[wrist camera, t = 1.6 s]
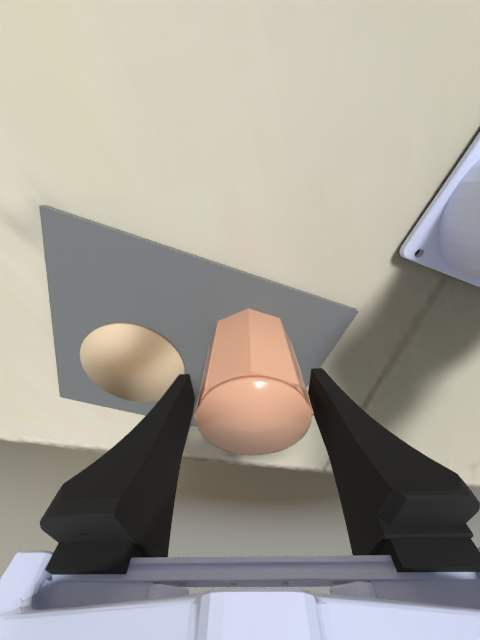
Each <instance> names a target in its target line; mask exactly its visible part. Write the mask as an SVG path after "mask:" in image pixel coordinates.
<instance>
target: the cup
mask: <svg viewBox="0 0 480 640" xmlns="http://www.w3.org/2000/svg"><path fill="white" fill-rule="evenodd" d="M313 415H314V412H313V409H312V406H311V403H310V400H309V397H308V393H307V390H306V387H305V384H304V381H303V378H302V375H301V371H300V368H299V365H298V362H297V359H296V356H295V352H294V349H293V346H292V343H291V342H290V339H289V337H288V335H287V333H286V331H285V329H284V327H283V324H282V322H281V320H280V318H278V317H275V316H271V315H268V314H265V313H262V312H258V311H255V310H252V309H249V308H247V309H245V310H243V311H241V312H238V313H236V314H234V315H231V316H229V317H227V318H225V319H222V320H220V321H218V323H217V326H216V329H215V332H214V335H213V338H212V341H211V344H210V346H209V351H208V355H207V360H206V364H205V369H204V373H203V378H202V383H201V387H200V392H199V396H198V401H197V405H196V410H195V414H194V419H196V420H197V426H198V428H199V431H200V432H201V434H202V435H203V436H204V438H205V439H207V440H208V441H209V442H210V443H212V444H213V445H215V446H217V447H218V448H221V449H223V450H226V451H229V452H232V453H237V454H244V455H263V454H270V453H274V452H278V451H281V450H284V449H286V448H288V447H290V446H292V445H294V444H295V443H297V442H298V441H299V440H300V439H302V437H303V436H304V435H305V434H306V433H307V431H308V429H309V427H310V424H311V417H312V416H313Z"/></svg>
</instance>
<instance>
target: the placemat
mask: <svg viewBox="0 0 480 640" xmlns="http://www.w3.org/2000/svg"><path fill="white" fill-rule="evenodd" d="M40 216H41V225H42V234H43V243H44V253H45V262H46V271H47V280H48V289H49V299H50V308H51V317H52V326H53V336H54V345H55V354H56V363H57V373H58V382H59V391H60V397H62V398H67V399H72V400H76V401H81V402H86V403H90V404H95V405H99V406H104V407H109V408H113V409H118V410H123V411H127V412H132V413H136V414H141V415H147V414H148V413H149V412H150V411H151V409H152V408H153V407H154V406H155V405H156V404H157V402H158V401H156V402H134V401H128V400H125V399H121V398H119V397H116V396H114V395H112V394H110V393H108V392H106V391H105V390H103V389H102V388H100V387H99V386H98V385H96V384H95V383H94V382H93V381H92V380H91V379H90V378H89V376H88V375H87V374H86V372H85V370H84V368H83V366H82V364H81V360H80V348H81V345H82V343H83V341H84V339H85V338H86V337H87V336H88V335H89V334H90V333H91V332H92V331H93V330H95V329H97V328H98V327H101V326H103V325H107V324H111V323H131V324H136V325H141V326H144V327H147V328H149V329H151V330H154V331H155V332H157V333H159V334H161V335H162V336H164V337H165V338H166V339H168V340H169V341H170V342H171V343H172V344H173V345H174V346H175V347H176V349H177V350H178V351H179V353H180V355H181V357H182V359H183V362H184V366H185V374H190V379H191V383H192V387H193V391H194V395H195V403H194V410H193V416H192V420H191V423H190V425H192V426H197V420H196V419H194V414H195V410H196V405H197V401H198V396H199V392H200V387H201V383H202V378H203V373H204V369H205V364H206V360H207V355H208V351H209V346H210V344H211V341H212V338H213V335H214V332H215V329H216V326H217V323H218V321H220V320H222V319H225V318H227V317H229V316H231V315H234V314H236V313H238V312H241V311H243V310H245V309H247V308H249V309H252V310H255V311H258V312H262V313H265V314H268V315H271V316H275V317H278V318H280V320H281V322H282V324H283V327H284V329H285V331H286V333H287V335H288V337H289V339H290V342H291V343H292V346H293V349H294V352H295V356H296V359H297V362H298V365H299V368H300V371H301V375H302V378H303V381H304V384H305V387H307V386H308V384H309V383H310V375H311V369H314V368H320V367H321V365H322V364H323V362H324V361H325V359H326V358H327V356H328V355H329V354H330V352H331V351H332V349H333V348H334V346H335V345H336V343H337V342H338V341H339V339H340V338H341V336H342V335H343V333H344V332H345V330H346V329H347V327H348V326H349V325H350V323H351V322H352V320H353V319H354V317H355V316H356V314H357V313H358V311H357V310H356V309H354V308H351V307H348V306H345V305H342V304H339V303H336V302H333V301H330V300H327V299H324V298H321V297H318V296H315V295H312V294H309V293H306V292H303V291H300V290H297V289H294V288H291V287H288V286H285V285H282V284H279V283H276V282H273V281H270V280H267V279H264V278H261V277H258V276H255V275H252V274H249V273H246V272H243V271H241V270H238V269H235V268H232V267H229V266H226V265H223V264H220V263H217V262H214V261H211V260H208V259H205V258H202V257H199V256H196V255H193V254H190V253H187V252H184V251H181V250H178V249H175V248H172V247H169V246H166V245H163V244H160V243H157V242H154V241H151V240H148V239H145V238H142V237H139V236H136V235H133V234H130V233H127V232H124V231H121V230H118V229H115V228H112V227H109V226H106V225H103V224H100V223H97V222H94V221H91V220H88V219H85V218H82V217H79V216H76V215H73V214H70V213H67V212H64V211H61V210H58V209H55V208H52V207H49V206H46V205H42V206H40ZM197 427H198V426H197Z"/></svg>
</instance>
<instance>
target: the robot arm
mask: <svg viewBox="0 0 480 640" xmlns="http://www.w3.org/2000/svg"><path fill="white" fill-rule="evenodd" d="M419 249H420V251H419V253H418V254H417V255H416V256H415V252H416V251H417V250H419ZM399 253H400V256H402V257H403V258H406V259H408V260H411V261H413V262H416V263H419V264H421V265H424V266H426V267H429V268H431V269H434V270H437V271H439V272H442V273H444V274H447V275H449V276H452V277H455V278H457V279H460V280H462V281H465V282H468V283H470V284H473V285H475V286H478V287H480V132H479V134H478V135H477V137H476V138H475V140H474V141H473V142H472V144H471V145H470V147H469V148H468V150H467V151H466V153H465V154H464V156H463V157H462V159H461V160H460V161H459V163H458V164H457V166H456V167H455V169H454V170H453V172H452V173H451V175H450V176H449V178H448V179H447V180H446V182H445V183H444V185H443V186H442V188H441V189H440V191H439V192H438V194H437V195H436V197H435V198H434V199H433V201H432V202H431V204H430V205H429V207H428V208H427V210H426V211H425V213H424V214H423V216H422V217H421V218H420V220H419V221H418V223H417V224H416V226H415V227H414V229H413V230H412V232H411V233H410V234H409V236H408V237H407V239H406V240H405V242H404V243H403V245H402V246H401V248H400V252H399ZM308 394H309V399H310V403H311V406H312V409H313V412H314V416H315V419H316V422H317V425H318V427H319V430H320V433H321V435H322V438H323V441H324V443H325V446H326V449H327V452H328V455H329V458H330V462H331V465H332V469H333V473H334V476H335V481H336V484H337V488H338V492H339V496H340V500H341V504H342V509H343V513H344V517H345V521H346V526H347V530H348V535H349V540H350V544H351V549H352V554H353V556H260V557H259V556H257V557H168V548H169V539H170V530H171V523H172V515H173V508H174V501H175V493H176V487H177V480H178V475H179V469H180V463H181V458H182V454H183V450H184V446H185V442H186V439H187V435H188V431H189V427H190V423H191V420H192V416H193V410H194V403H195V395H194V391H193V387H192V383H191V379H190V374H179V375H178V376H177V378H176V379H175V380H174V382H173V383H172V385H171V386H170V387H169V388H168V390H167V391H166V392H165V394H164V395H163V396H162V397H161V399H160V400H159V401H158V402H157V404H156V405H155V406H154V407H153V408H152V409H151V411H150V412H149V413H148V414H147V415H146V416H145V417H144V418H143V419H142V421H141V422H140V423H139V424H138V425H137V426H136V427H135V428H134V429H133V430H132V431H131V432H130V433H128V434H127V435H126V436H125V437H124V438H123V439H122V440H121V441H120V442H118V443H117V444H116V445H115V446H114V447H113V448H112V449H110V450H109V451H108V452H107V453H105V454H104V455H103V456H102V457H100V458H99V459H98V460H96V461H95V462H94V463H93V464H91V465H90V466H88V467H87V468H86V469H84V470H83V471H82V472H80V473H79V474H77V475H76V476H74V477H73V478H71V479H70V480H69V481H67V482H65V483H64V484H63V485H62V487H61V488H60V490H59V491H58V493H57V494H56V496H55V498H54V499H53V501H52V503H51V504H50V506H49V508H48V509H47V511H46V512H45V514H44V516H43V517H42V519H41V521H40V526H41V529H42V530H43V531H44V532H46V533H47V534H48V535H49V536H51V537H52V538H53V539H55V540H56V541H57V542H59V544H58V546H57V548H56V549H55V551H54V553H53V552H49V551H19V552H18V553H17V554H16V555H15V557H14V558H13V560H12V561H11V563H10V565H9V566H8V568H7V569H6V571H5V573H4V574H3V576H2V577H1V579H0V640H480V547H479V548H477V547H476V546H475V544H474V543H473V541H472V540H471V538H472V537H473V533H472V532H471V530H470V529H469V527H468V526H467V524H466V522H468V521H469V520H470V519H471V518H472V517H473V516H474V515H475V514H476V513H477V512H478V510H479V507H480V502H479V501H478V500H477V499H476V497H475V496H474V495H473V493H472V492H471V490H470V489H469V488H468V486H467V485H466V484H465V482H464V481H463V480H462V479H461V478H460V477H459V475H458V474H456V473H455V472H453V471H451V470H449V469H448V468H446V467H444V466H442V465H441V464H439V463H437V462H435V461H434V460H432V459H430V458H429V457H427V456H425V455H424V454H422V453H421V452H419V451H417V450H416V449H414V448H413V447H411V446H410V445H408V444H407V443H405V442H404V441H402V440H401V439H399V438H398V437H396V436H395V435H394V434H392V433H391V432H389V431H388V430H387V429H385V428H384V427H383V426H381V425H380V424H379V423H378V422H376V421H375V420H374V419H373V418H371V417H370V416H369V415H368V414H367V413H366V412H365V411H363V410H362V409H361V408H360V407H359V406H358V405H357V404H356V403H355V402H354V401H353V400H352V399H351V398H350V397H349V396H348V395H347V394H346V393H345V392H344V391H343V390H342V389H341V388H340V387H339V386H338V385H337V384H336V383H335V382H334V381H333V380H332V379H331V377H330V376H329V375H328V374H327V373H326V372H325V371H324V370H323V369H322V368H314V369H311V375H310V383H309V391H308ZM296 586H297V587H315V586H316V587H317V586H318V587H321V586H322V587H323V586H332V587H331V589H330V593H331V594H321V593H311V592H310V591H308V590H304V589H298V588H219V589H211V590H208V591H205V592H204V593H200V594H190V595H189V591H188V589H187V588H182V587H296Z"/></svg>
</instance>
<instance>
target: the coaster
mask: <svg viewBox="0 0 480 640" xmlns="http://www.w3.org/2000/svg"><path fill="white" fill-rule="evenodd" d="M80 360H81V364H82V366H83V368H84V370H85V372H86V374H87V375H88V376H89V378H90V379H91V380H92V381H93V382H94V383H95V384H96V385H98V386H99V387H100V388H102V389H103V390H105V391H106V392H108V393H110V394H112V395H114V396H116V397H119V398H121V399H125V400H128V401H134V402H156V401H159V400H160V399H161V397H162V396H163V395H164V394H165V392H166V391H167V390H168V388H169V387H170V386H171V385H172V383H173V382H174V380H175V379H176V378H177V376H178V375H179V374H185V366H184V362H183V359H182V357H181V355H180V353H179V351H178V350H177V349H176V347H175V346H174V345H173V344H172V343H171V342H170V341H169V340H168V339H166V338H165V337H164V336H162V335H161V334H159V333H157V332H155V331H154V330H151V329H149V328H147V327H144V326H141V325H136V324H131V323H111V324H107V325H103V326H101V327H98V328H97V329H95V330H93V331H92V332H91V333H90V334H89V335H88V336H87V337H86V338H85V339H84V341H83V343H82V345H81V348H80Z"/></svg>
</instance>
